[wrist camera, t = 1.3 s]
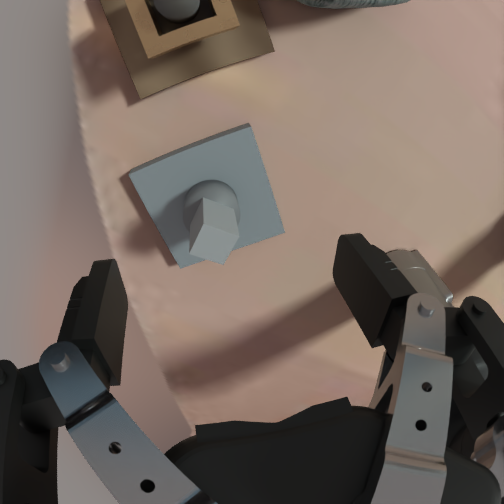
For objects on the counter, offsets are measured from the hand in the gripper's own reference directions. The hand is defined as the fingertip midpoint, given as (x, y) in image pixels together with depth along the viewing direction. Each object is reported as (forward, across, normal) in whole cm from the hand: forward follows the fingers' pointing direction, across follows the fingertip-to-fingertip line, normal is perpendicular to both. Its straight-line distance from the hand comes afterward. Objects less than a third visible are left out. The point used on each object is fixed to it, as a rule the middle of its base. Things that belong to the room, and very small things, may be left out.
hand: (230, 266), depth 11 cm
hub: (+20, 0, +7) cm, 22 cm away
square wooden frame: (+16, +1, -12) cm, 20 cm away
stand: (+20, +1, -12) cm, 23 cm away
